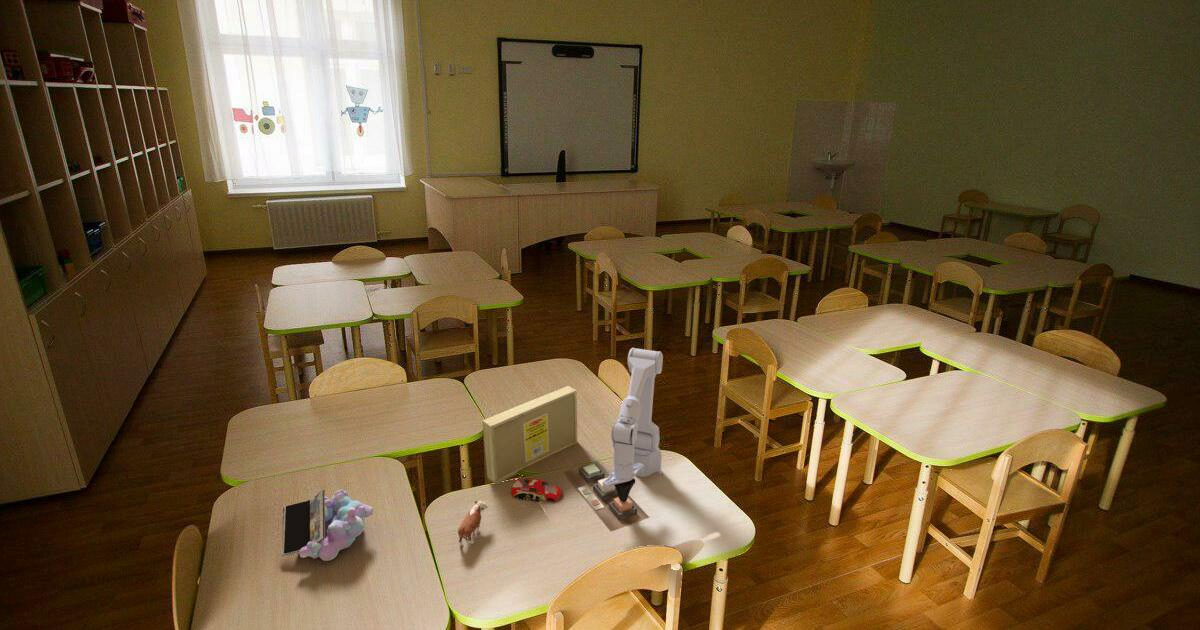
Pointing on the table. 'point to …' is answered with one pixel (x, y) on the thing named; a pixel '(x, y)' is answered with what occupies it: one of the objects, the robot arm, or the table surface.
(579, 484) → the keypad
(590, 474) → the sage key
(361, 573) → the table surface
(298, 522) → the cloud picture frame
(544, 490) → the race car
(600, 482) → the cream key
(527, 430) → the beige flat box
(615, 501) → the terracotta key
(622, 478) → the robot arm
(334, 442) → the table surface
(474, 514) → the bull figurine
